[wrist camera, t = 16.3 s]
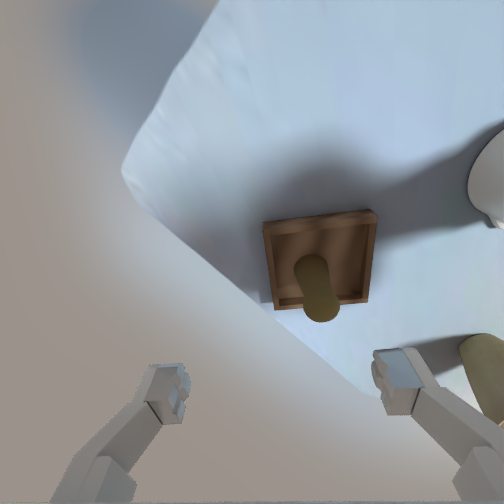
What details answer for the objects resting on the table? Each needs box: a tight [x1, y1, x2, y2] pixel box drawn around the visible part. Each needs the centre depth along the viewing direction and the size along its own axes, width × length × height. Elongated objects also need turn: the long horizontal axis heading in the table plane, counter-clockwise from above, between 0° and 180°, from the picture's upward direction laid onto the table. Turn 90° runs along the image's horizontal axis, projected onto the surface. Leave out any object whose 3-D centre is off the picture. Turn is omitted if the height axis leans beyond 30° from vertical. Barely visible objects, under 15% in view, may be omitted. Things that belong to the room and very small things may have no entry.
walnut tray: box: [263, 209, 377, 310], centre depth 43 cm, size 17×17×3 cm
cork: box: [294, 254, 340, 322], centre depth 40 cm, size 6×6×11 cm
